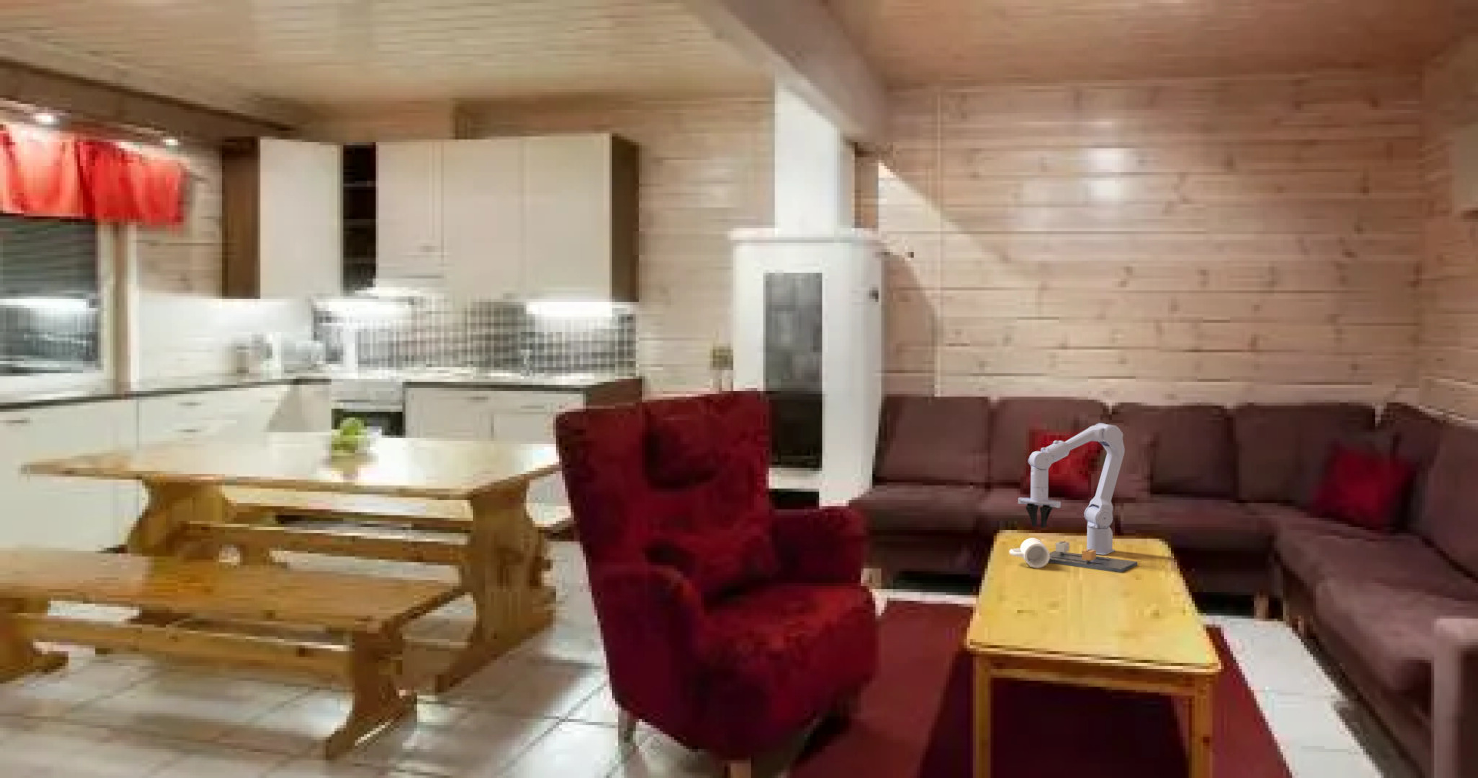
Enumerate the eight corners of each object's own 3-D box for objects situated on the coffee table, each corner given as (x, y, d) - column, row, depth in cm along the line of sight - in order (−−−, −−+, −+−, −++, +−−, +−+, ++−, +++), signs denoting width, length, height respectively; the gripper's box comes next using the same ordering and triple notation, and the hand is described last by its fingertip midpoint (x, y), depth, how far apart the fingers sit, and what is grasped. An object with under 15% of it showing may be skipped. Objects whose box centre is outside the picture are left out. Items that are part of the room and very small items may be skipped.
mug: (1044, 562, 375) (1044, 538, 374) (1049, 568, 365) (1050, 544, 364) (1007, 561, 376) (1007, 537, 375) (1011, 567, 366) (1011, 543, 365)
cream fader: (1060, 551, 384) (1060, 540, 383) (1069, 552, 382) (1069, 541, 381) (1055, 553, 380) (1055, 542, 380) (1064, 554, 379) (1064, 543, 378)
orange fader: (1086, 559, 371) (1086, 548, 370) (1095, 560, 369) (1095, 549, 368) (1081, 561, 367) (1081, 550, 367) (1090, 562, 366) (1091, 551, 365)
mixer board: (1055, 554, 387) (1055, 550, 386) (1137, 565, 369) (1137, 561, 369) (1037, 561, 375) (1037, 557, 375) (1120, 572, 358) (1121, 568, 358)
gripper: (1014, 486, 387) (1013, 526, 387) (1054, 490, 377) (1054, 530, 378) (1023, 484, 392) (1022, 523, 393) (1063, 487, 383) (1062, 527, 384)
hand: (1038, 526), depth 386 cm, fingers open, 3 cm apart
